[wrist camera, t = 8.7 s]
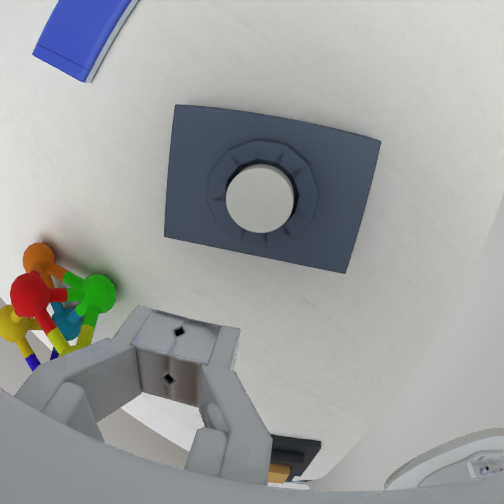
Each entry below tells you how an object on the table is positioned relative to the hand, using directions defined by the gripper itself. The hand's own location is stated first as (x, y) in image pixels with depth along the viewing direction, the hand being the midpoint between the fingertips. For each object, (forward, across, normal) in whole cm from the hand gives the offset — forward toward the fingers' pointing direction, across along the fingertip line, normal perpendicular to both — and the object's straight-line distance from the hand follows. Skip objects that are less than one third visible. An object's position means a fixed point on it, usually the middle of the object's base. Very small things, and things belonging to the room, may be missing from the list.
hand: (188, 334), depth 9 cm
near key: (+13, -1, -1) cm, 13 cm away
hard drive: (+17, +16, -15) cm, 28 cm away
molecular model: (+17, +17, +14) cm, 28 cm away
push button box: (+16, -1, -1) cm, 17 cm away
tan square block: (+14, -8, +35) cm, 39 cm away
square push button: (+16, -8, +35) cm, 40 cm away
